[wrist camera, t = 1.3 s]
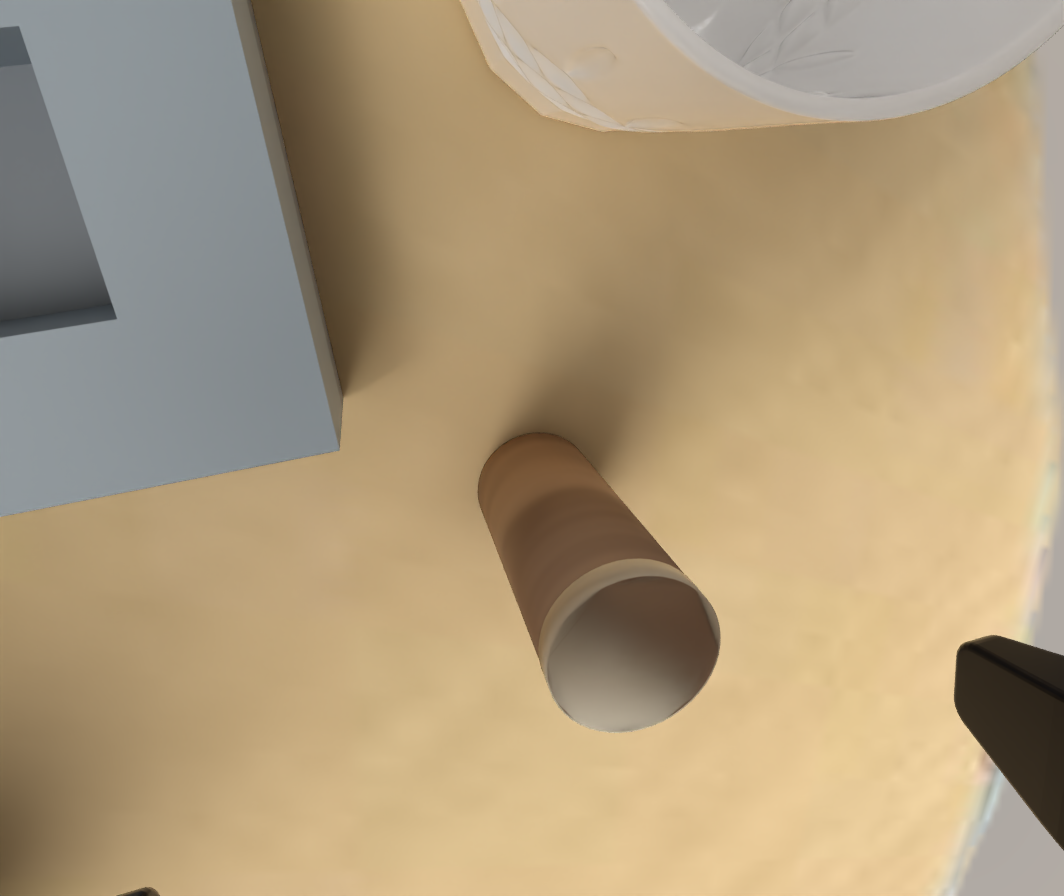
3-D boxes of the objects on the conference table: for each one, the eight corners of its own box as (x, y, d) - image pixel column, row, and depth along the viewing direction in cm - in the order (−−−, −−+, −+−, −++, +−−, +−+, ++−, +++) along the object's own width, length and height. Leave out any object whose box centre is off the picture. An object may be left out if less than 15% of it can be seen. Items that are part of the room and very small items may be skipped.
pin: (596, 527, 21) (724, 707, 14) (486, 551, 21) (557, 751, 13) (584, 421, 20) (717, 556, 13) (468, 444, 19) (535, 599, 12)
